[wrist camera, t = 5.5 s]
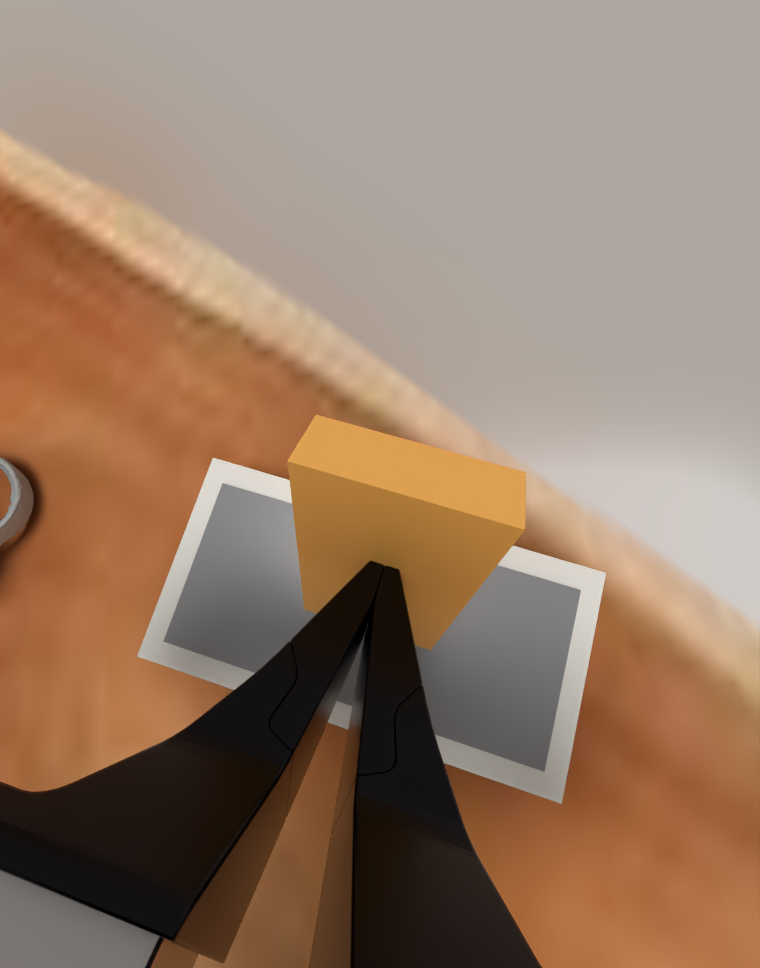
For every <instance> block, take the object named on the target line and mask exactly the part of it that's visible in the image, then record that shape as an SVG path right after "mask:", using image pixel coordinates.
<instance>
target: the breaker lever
mask: <svg viewBox="0 0 760 968" xmlns="http://www.w3.org/2000/svg"><path fill="white" fill-rule="evenodd" d="M287 462H288V471H289V480H290V489H291V497H292V506H293V515H294V524H295V532H296V541H297V550H298V558H299V567H300V576H301V585H302V593H303V602H304V610H307V611H310V612H313V613H318V612H319V611H320V610H321V609H322V608H323V607H324V606H325V605H326V604H327V603H328V602H329V601H330V600H331V599H332V598H333V597H334V596H335V595H336V594H337V593H338V592H339V591H340V590H341V589H342V588H343V587H344V586H345V585H346V584H347V583H348V582H349V581H350V580H351V579H352V578H353V577H354V576H355V575H356V574H357V573H358V572H359V571H360V570H361V569H362V568H363V567H364V566H365V565H366V564H367V563H368V562H369V561H374V562H377V563H380V564H383V565H384V566H390V567H393V568H397V569H399V570H400V574H401V579H402V584H403V588H404V593H405V598H406V603H407V608H408V613H409V618H410V623H411V628H412V633H413V638H414V642H415V645H416V646H419V647H422V648H425V649H428V650H431V649H432V648H433V646H434V645H435V644H436V643H437V641H438V640H439V639H440V638H441V636H442V635H443V634H444V632H445V631H446V630H447V629H448V627H449V626H450V625H451V624H452V622H453V621H454V620H455V618H456V617H457V616H458V615H459V613H460V612H461V611H462V610H463V608H464V607H465V606H466V604H467V603H468V602H469V601H470V599H471V598H472V597H473V595H474V594H475V593H476V592H477V590H478V589H479V588H480V587H481V585H482V584H483V583H484V581H485V580H486V579H487V578H488V576H489V575H490V574H491V573H492V571H493V570H494V569H495V567H496V566H497V565H498V564H499V562H500V561H501V560H502V559H503V557H504V556H505V555H506V553H507V552H508V551H509V550H510V548H511V547H512V546H513V545H514V543H515V542H516V541H517V539H518V538H519V537H520V536H521V534H522V533H523V532H524V530H525V497H526V472H522V471H518V470H515V469H511V468H508V467H504V466H500V465H497V464H493V463H489V462H486V461H482V460H479V459H475V458H471V457H468V456H464V455H460V454H457V453H453V452H450V451H446V450H442V449H439V448H435V447H431V446H428V445H424V444H421V443H417V442H413V441H410V440H406V439H402V438H399V437H395V436H392V435H388V434H384V433H381V432H377V431H373V430H370V429H366V428H363V427H359V426H355V425H352V424H348V423H344V422H341V421H337V420H334V419H330V418H326V417H323V416H319V415H316V416H315V417H314V419H313V420H312V422H311V424H310V425H309V427H308V429H307V430H306V432H305V433H304V435H303V437H302V438H301V440H300V442H299V443H298V445H297V446H296V448H295V450H294V451H293V453H292V454H291V456H290V458H289V459H288V461H287ZM367 625H368V624H367Z"/></svg>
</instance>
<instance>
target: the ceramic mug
mask: <svg viewBox="0 0 760 968" xmlns="http://www.w3.org/2000/svg"><path fill="white" fill-rule="evenodd" d="M0 468H1V469H2V470H3V471H4V473H5V474H6V475H7V477H8V479H9V481H10V483H11V487H12V491H11V498H10V502H11V503H12V504H11V505H10V506H9V511H8V512H7V514H6V516H5V517H4V518H3V519H2V520H1V521H0V546H1V545H2V544H3V543H4V542H6V541H7V540H8V539H10V538H12V537H13V536H14V535H15V534H16V533H17V532H19V531H20V530H21V529H22V528H23V526H24V525H25V524H26V522H27V521H28V519H29V517H30V515H31V513H32V509H33V504H34V495H33V490H32V488H31V485H30V483H29V481H28V479H27V478H26V477H25V476H24V474H23V473H22V472H21V471H19V470H18V469H17V468H16V467H14V466H13V465H12V464H11V463H10V462H8V461H7V460H6V459H3V458H1V457H0Z"/></svg>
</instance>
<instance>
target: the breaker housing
mask: <svg viewBox="0 0 760 968" xmlns="http://www.w3.org/2000/svg"><path fill="white" fill-rule="evenodd" d="M605 575H606V573H604V572H601V571H598V570H594V569H591V568H587V567H584V566H581V565H577V564H574V563H570V562H567V561H563V560H560V559H557V558H553V557H550V556H546V555H543V554H540V553H536V552H533V551H529V550H526V549H523V548H519V547H516V546H512V547H511V548H510V550H509V551H508V552H507V553H506V555H505V556H504V557H503V559H502V560H501V561H500V562H499V564H498V565H497V566H496V567H495V569H494V570H493V571H492V573H491V574H490V575H489V576H488V578H487V579H486V580H485V581H484V583H483V584H482V585H481V587H480V588H479V589H478V590H477V592H476V593H475V594H474V595H473V597H472V598H471V599H470V601H469V602H468V603H467V604H466V606H465V607H464V608H463V610H462V611H461V612H460V613H459V615H458V616H457V617H456V618H455V620H454V621H453V622H452V624H451V625H450V626H449V627H448V629H447V630H446V631H445V632H444V634H443V635H442V636H441V638H440V639H439V640H438V641H437V643H436V644H435V645H434V646H433V648H432V649H431V650H428V649H425V648H422V647H419V646H416V645H415V647H416V652H417V657H418V662H419V667H420V672H421V677H422V682H423V684H422V685H423V686H424V691H425V696H426V701H427V705H428V709H429V713H430V718H431V722H432V726H433V729H434V733H435V736H436V740H437V743H438V746H439V750H440V753H441V756H442V759H443V762H444V763H445V764H448V765H451V766H454V767H457V768H460V769H463V770H465V771H468V772H471V773H474V774H477V775H480V776H483V777H486V778H488V779H491V780H494V781H497V782H500V783H503V784H506V785H509V786H511V787H514V788H517V789H520V790H523V791H526V792H529V793H532V794H534V795H537V796H540V797H543V798H546V799H549V800H552V801H555V802H557V803H560V804H562V799H563V794H564V789H565V783H566V778H567V773H568V768H569V763H570V757H571V752H572V747H573V742H574V737H575V731H576V726H577V721H578V716H579V711H580V705H581V700H582V695H583V690H584V685H585V679H586V674H587V669H588V664H589V658H590V653H591V648H592V643H593V638H594V632H595V627H596V622H597V617H598V612H599V606H600V601H601V596H602V591H603V586H604V580H605ZM316 614H317V613H313V612H310V611H307V610H304V602H303V593H302V585H301V576H300V567H299V558H298V550H297V541H296V532H295V524H294V515H293V506H292V497H291V489H290V480H287V479H284V478H280V477H277V476H274V475H270V474H267V473H263V472H260V471H257V470H253V469H250V468H246V467H243V466H240V465H236V464H233V463H229V462H226V461H222V460H219V459H216V458H213V459H212V462H211V464H210V467H209V470H208V472H207V475H206V478H205V480H204V483H203V485H202V488H201V491H200V493H199V496H198V498H197V501H196V504H195V506H194V509H193V512H192V514H191V517H190V519H189V522H188V525H187V527H186V530H185V532H184V535H183V538H182V540H181V543H180V546H179V548H178V551H177V553H176V556H175V559H174V561H173V564H172V566H171V569H170V572H169V574H168V577H167V580H166V582H165V585H164V587H163V590H162V593H161V595H160V598H159V600H158V603H157V606H156V608H155V611H154V614H153V616H152V619H151V621H150V624H149V627H148V629H147V632H146V634H145V637H144V640H143V642H142V645H141V648H140V650H139V653H138V655H137V656H138V657H141V658H143V659H146V660H149V661H152V662H155V663H158V664H161V665H164V666H166V667H169V668H172V669H175V670H178V671H181V672H184V673H187V674H189V675H192V676H195V677H198V678H201V679H204V680H207V681H210V682H212V683H215V684H218V685H221V686H224V687H227V688H230V689H233V690H235V689H236V688H237V687H239V686H240V685H241V684H242V683H244V682H245V681H246V680H247V679H248V678H250V677H251V676H252V675H253V674H254V673H256V672H257V671H258V670H259V669H260V668H261V667H263V666H264V665H265V664H266V663H267V662H268V661H269V660H270V659H271V658H272V657H273V656H274V655H275V654H276V653H278V652H279V651H280V650H281V649H282V648H283V647H284V646H285V645H286V644H287V643H288V642H289V641H290V642H291V639H292V638H293V637H294V636H295V635H296V634H297V633H298V632H299V631H300V630H301V629H302V628H303V627H304V626H305V625H306V624H307V623H308V622H309V621H310V620H311V619H312V618H313V617H314V616H315V615H316ZM365 632H366V631H365ZM364 636H365V634H364ZM363 640H364V637H363ZM363 640H362V643H361V645H360V648H359V650H358V652H357V655H356V657H355V659H354V662H353V664H352V666H351V669H350V671H349V673H348V676H347V678H346V680H345V683H344V685H343V687H342V690H341V692H340V694H339V697H338V699H337V701H336V704H335V706H334V708H333V711H332V713H331V715H330V718H329V720H328V722H327V723H330V724H333V725H336V726H339V727H342V728H345V729H348V728H349V722H350V716H351V710H352V704H353V698H354V692H355V686H356V680H357V674H358V668H359V662H360V656H361V650H362V645H363Z"/></svg>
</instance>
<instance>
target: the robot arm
mask: <svg viewBox="0 0 760 968" xmlns="http://www.w3.org/2000/svg"><path fill="white" fill-rule="evenodd" d="M367 624H368V625H367ZM365 631H366V632H365ZM364 634H365V636H364ZM363 637H364V640H363ZM362 640H363V645H362V650H361V656H360V662H359V668H358V674H357V680H356V686H355V692H354V698H353V704H352V710H351V716H350V722H349V728H348V734H347V740H346V746H345V753H344V759H343V765H342V771H341V777H340V783H339V789H338V795H337V801H336V807H335V813H334V819H333V825H332V831H331V837H330V843H329V849H328V855H327V861H326V867H325V873H324V879H323V885H322V891H321V897H320V903H319V909H318V915H317V921H316V927H315V933H314V940H313V946H312V952H311V958H310V964H309V968H542V967H541V965H540V964H539V962H538V960H537V959H536V957H535V955H534V954H533V952H532V950H531V948H530V947H529V945H528V943H527V941H526V940H525V938H524V936H523V934H522V933H521V931H520V929H519V927H518V926H517V924H516V922H515V920H514V919H513V917H512V915H511V913H510V912H509V910H508V908H507V907H506V905H505V903H504V901H503V900H502V898H501V896H500V894H499V893H498V891H497V889H496V887H495V886H494V884H493V882H492V880H491V879H490V877H489V875H488V873H487V872H486V870H485V868H484V867H483V865H482V863H481V861H480V859H479V858H478V856H477V854H476V852H475V850H474V848H473V846H472V843H471V841H470V839H469V836H468V834H467V831H466V829H465V826H464V824H463V821H462V818H461V815H460V812H459V809H458V806H457V803H456V800H455V796H454V793H453V790H452V787H451V784H450V781H449V778H448V775H447V772H446V768H445V765H444V762H443V759H442V756H441V753H440V750H439V746H438V743H437V740H436V736H435V733H434V729H433V726H432V722H431V718H430V713H429V709H428V705H427V701H426V696H425V691H424V686H423V685H422V684H423V682H422V677H421V672H420V667H419V662H418V657H417V652H416V647H415V642H414V638H413V633H412V628H411V623H410V618H409V613H408V608H407V603H406V598H405V593H404V588H403V584H402V579H401V574H400V570H399V569H397V568H393V567H390V566H384V565H383V564H380V563H377V562H374V561H369V562H368V563H367V564H366V565H365V566H364V567H363V568H362V569H361V570H360V571H359V572H358V573H357V574H356V575H355V576H354V577H353V578H352V579H351V580H350V581H349V582H348V583H347V584H346V585H345V586H344V587H343V588H342V589H341V590H340V591H339V592H338V593H337V594H336V595H335V596H334V597H333V598H332V599H331V600H330V601H329V602H328V603H327V604H326V605H325V606H324V607H323V608H322V609H321V610H320V611H319V612H318V613H317V614H316V615H315V616H314V617H313V618H312V619H311V620H310V621H309V622H308V623H307V624H306V625H305V626H304V627H303V628H302V629H301V630H300V631H299V632H298V633H297V634H296V635H295V636H294V637H293V638H292V639H291V642H290V641H289V642H288V643H287V644H286V645H285V646H284V647H283V648H282V649H281V650H280V651H279V652H278V653H276V654H275V655H274V656H273V657H272V658H271V659H270V660H269V661H268V662H267V663H266V664H265V665H264V666H263V667H261V668H260V669H259V670H258V671H257V672H256V673H254V674H253V675H252V676H251V677H250V678H248V679H247V680H246V681H245V682H244V683H242V684H241V685H240V686H239V687H237V688H236V689H235V690H234V691H232V692H231V693H230V694H228V695H227V696H226V697H225V698H223V699H222V700H221V701H220V702H218V703H217V704H216V705H215V706H213V707H212V708H211V709H210V710H208V711H207V712H206V713H205V714H203V715H202V716H201V717H199V718H198V719H197V720H196V721H194V722H193V723H192V724H190V725H189V726H187V727H186V728H185V729H183V730H182V731H180V732H179V733H177V734H175V735H174V736H172V737H170V738H169V739H167V740H165V741H163V742H161V743H159V744H157V745H154V746H152V747H150V748H148V749H146V750H143V751H141V752H139V753H137V754H135V755H132V756H130V757H128V758H126V759H124V760H121V761H119V762H117V763H115V764H113V765H110V766H108V767H106V768H104V769H102V770H99V771H97V772H95V773H93V774H91V775H88V776H86V777H84V778H82V779H80V780H77V781H75V782H73V783H71V784H68V785H65V786H63V787H60V788H57V789H52V790H48V791H40V792H30V791H24V790H21V789H19V788H16V787H13V786H11V785H8V784H6V783H3V782H0V968H193V966H194V964H195V961H196V959H197V956H198V954H201V955H203V956H206V957H208V958H211V959H213V960H215V961H218V962H220V963H224V962H225V960H226V957H227V955H228V952H229V950H230V948H231V945H232V943H233V941H234V938H235V936H236V934H237V931H238V929H239V927H240V925H241V922H242V920H243V918H244V915H245V913H246V911H247V908H248V906H249V904H250V901H251V899H252V897H253V894H254V892H255V890H256V887H257V885H258V883H259V880H260V878H261V876H262V873H263V871H264V869H265V866H266V864H267V862H268V859H269V857H270V855H271V852H272V850H273V848H274V845H275V843H276V841H277V838H278V836H279V834H280V832H281V829H282V827H283V825H284V822H285V818H286V817H287V815H288V813H289V811H290V808H291V806H292V804H293V801H294V799H295V797H296V794H297V792H298V790H299V787H300V785H301V783H302V780H303V778H304V776H305V773H306V771H307V769H308V766H309V764H310V762H311V759H312V757H313V755H314V752H315V750H316V748H317V745H318V743H319V741H320V738H321V736H322V734H323V731H324V729H325V727H326V725H327V722H328V720H329V718H330V715H331V713H332V711H333V708H334V706H335V704H336V701H337V699H338V697H339V694H340V692H341V690H342V687H343V685H344V683H345V680H346V678H347V676H348V673H349V671H350V669H351V666H352V664H353V662H354V659H355V657H356V655H357V652H358V650H359V648H360V645H361V643H362Z"/></svg>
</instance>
